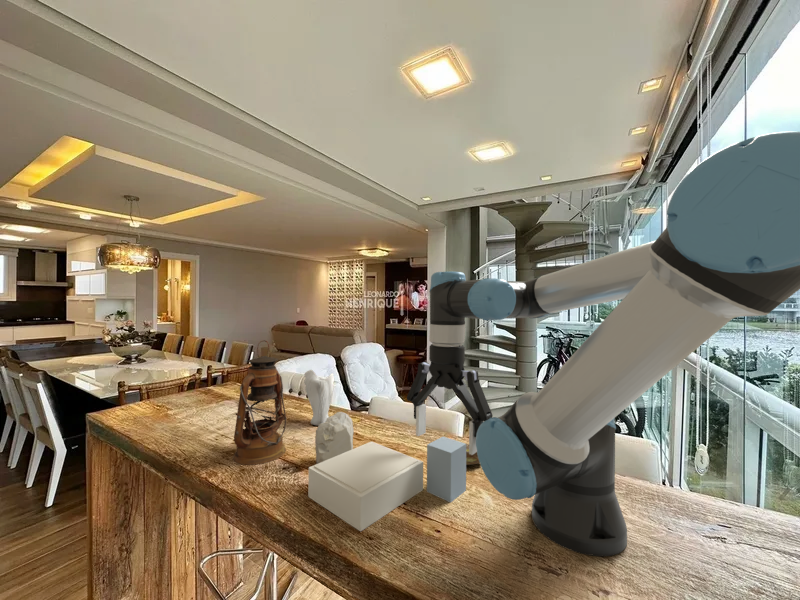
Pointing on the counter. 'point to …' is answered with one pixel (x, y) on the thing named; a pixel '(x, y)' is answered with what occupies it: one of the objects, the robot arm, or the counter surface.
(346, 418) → the stone
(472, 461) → the rock
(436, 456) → the block
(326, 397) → the white figurine
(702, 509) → the counter surface
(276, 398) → the lantern
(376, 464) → the plinth
